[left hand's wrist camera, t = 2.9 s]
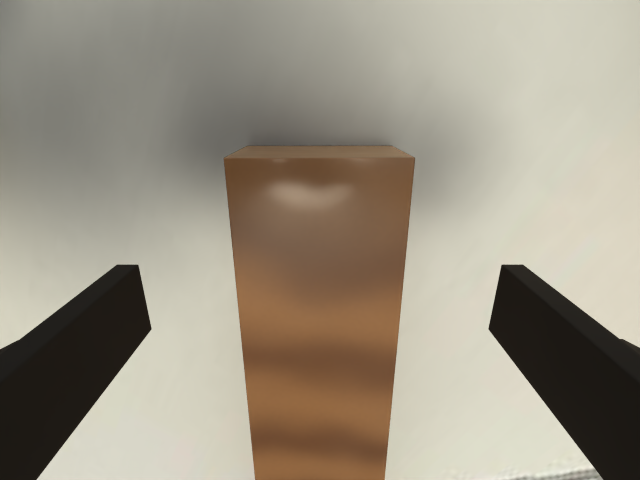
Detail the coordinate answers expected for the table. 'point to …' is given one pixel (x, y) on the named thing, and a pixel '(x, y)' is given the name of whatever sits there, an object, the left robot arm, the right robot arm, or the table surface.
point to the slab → (319, 302)
